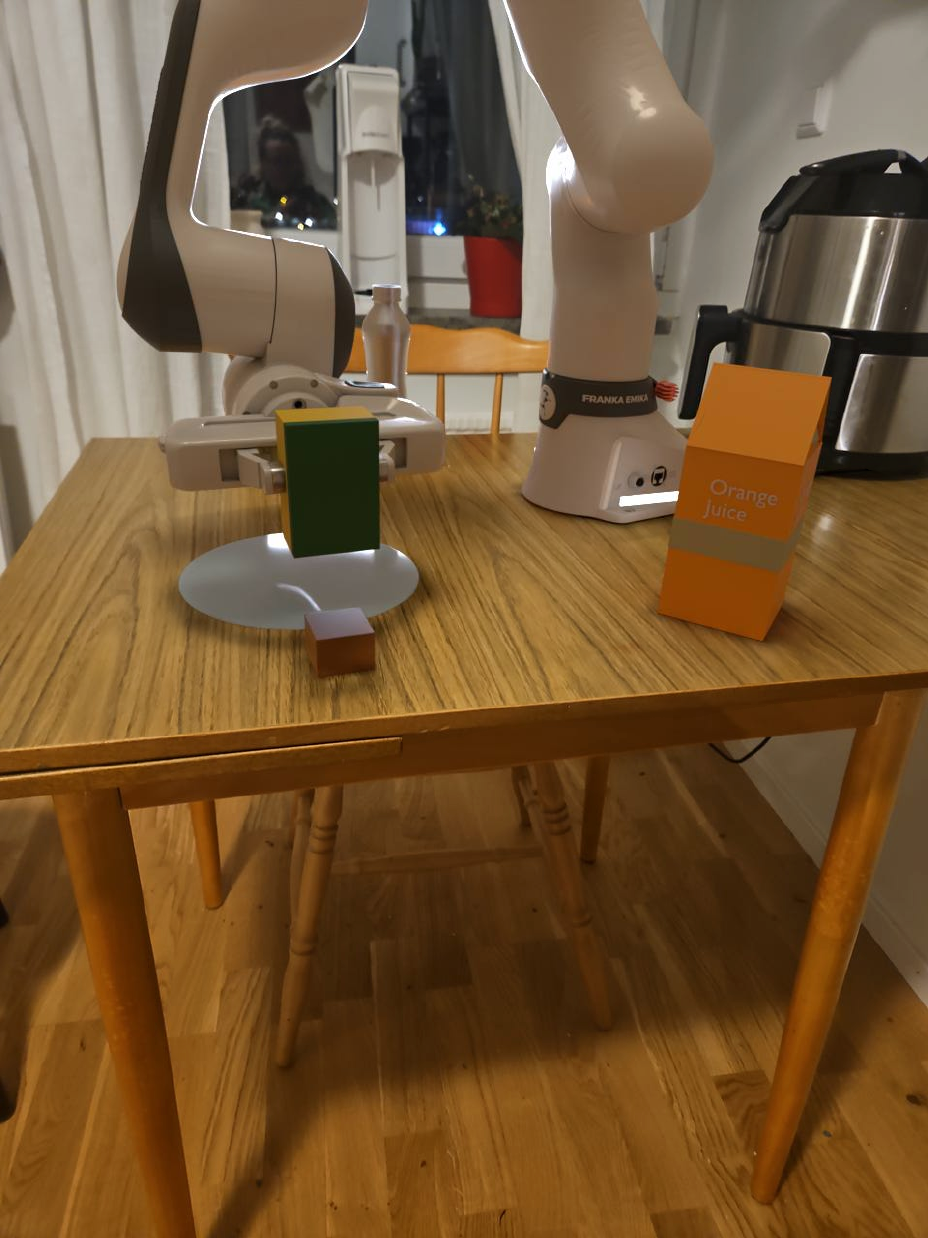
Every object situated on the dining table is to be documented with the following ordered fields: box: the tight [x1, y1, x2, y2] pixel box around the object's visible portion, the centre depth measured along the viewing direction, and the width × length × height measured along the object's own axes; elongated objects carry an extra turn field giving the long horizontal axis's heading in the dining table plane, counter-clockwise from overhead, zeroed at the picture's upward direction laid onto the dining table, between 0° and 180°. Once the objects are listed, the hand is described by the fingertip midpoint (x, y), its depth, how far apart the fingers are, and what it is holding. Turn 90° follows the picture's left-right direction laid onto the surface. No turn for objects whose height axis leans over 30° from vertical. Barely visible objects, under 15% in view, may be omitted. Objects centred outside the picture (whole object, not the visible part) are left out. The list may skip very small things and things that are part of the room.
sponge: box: [275, 406, 381, 558], centre depth 55 cm, size 6×4×9 cm, turn 111°
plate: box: [177, 532, 420, 631], centre depth 69 cm, size 20×20×1 cm
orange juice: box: [656, 361, 833, 642], centre depth 65 cm, size 8×9×20 cm
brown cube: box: [304, 608, 376, 679], centre depth 56 cm, size 4×4×4 cm
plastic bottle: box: [361, 284, 412, 400], centre depth 110 cm, size 6×7×20 cm
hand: (332, 478), depth 54 cm, fingers closed on sponge, 6 cm apart
